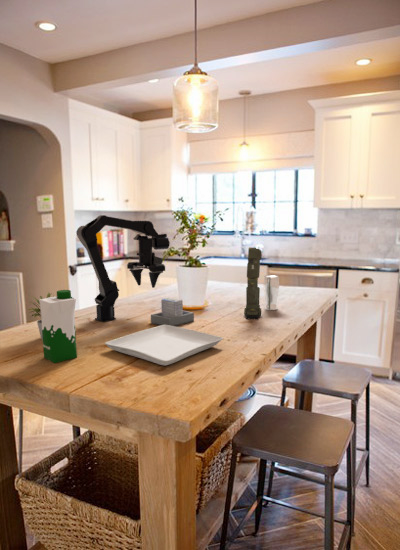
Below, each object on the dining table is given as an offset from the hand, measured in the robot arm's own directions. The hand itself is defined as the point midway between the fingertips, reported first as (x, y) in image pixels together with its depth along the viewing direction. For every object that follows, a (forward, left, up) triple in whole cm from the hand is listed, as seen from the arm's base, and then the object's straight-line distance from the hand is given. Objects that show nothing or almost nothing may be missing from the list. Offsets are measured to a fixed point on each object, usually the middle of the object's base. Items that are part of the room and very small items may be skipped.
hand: (146, 286), depth 175 cm
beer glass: (+43, -36, -12) cm, 57 cm away
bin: (-3, -19, -12) cm, 23 cm away
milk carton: (-54, -23, -12) cm, 60 cm away
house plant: (-46, 0, -12) cm, 48 cm away
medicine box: (-3, -19, -12) cm, 22 cm away
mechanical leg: (+27, -37, -12) cm, 47 cm away
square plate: (-28, -41, -13) cm, 51 cm away
